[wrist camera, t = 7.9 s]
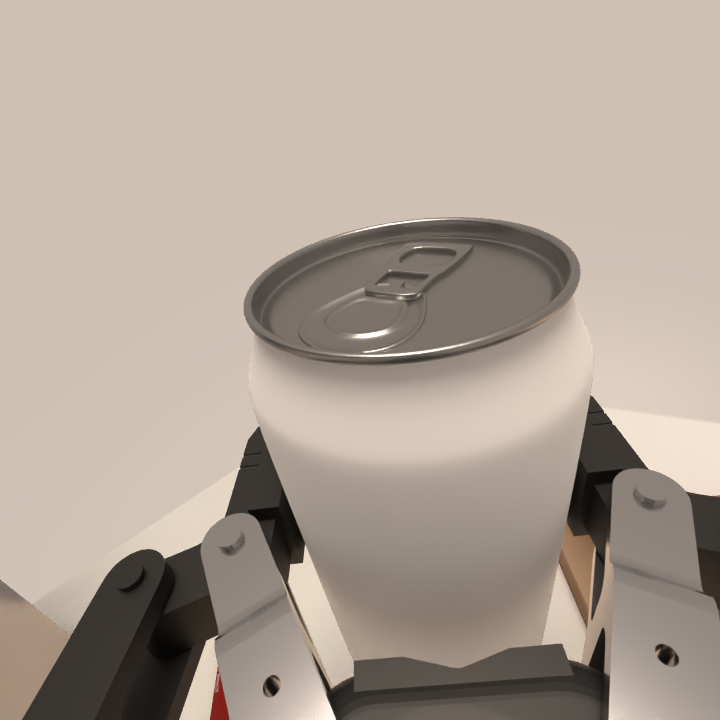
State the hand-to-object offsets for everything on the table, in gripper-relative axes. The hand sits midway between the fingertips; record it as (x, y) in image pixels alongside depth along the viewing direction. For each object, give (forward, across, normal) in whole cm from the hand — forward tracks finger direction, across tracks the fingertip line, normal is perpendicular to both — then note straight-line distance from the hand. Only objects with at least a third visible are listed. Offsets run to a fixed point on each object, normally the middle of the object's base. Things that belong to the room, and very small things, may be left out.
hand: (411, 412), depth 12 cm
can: (-2, 0, +7) cm, 7 cm away
